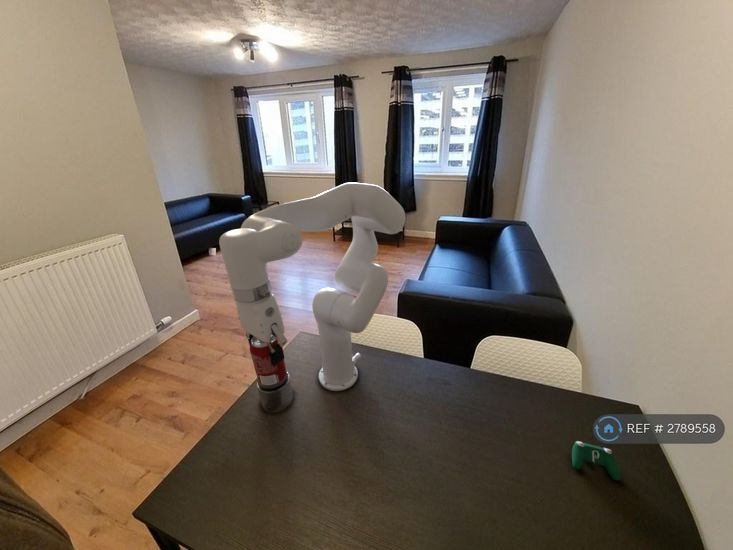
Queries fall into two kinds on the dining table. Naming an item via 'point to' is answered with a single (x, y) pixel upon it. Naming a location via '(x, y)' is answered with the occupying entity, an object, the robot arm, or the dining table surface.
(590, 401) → the dining table surface
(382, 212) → the robot arm
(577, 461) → the gaming controller
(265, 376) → the soda can
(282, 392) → the metal cup
